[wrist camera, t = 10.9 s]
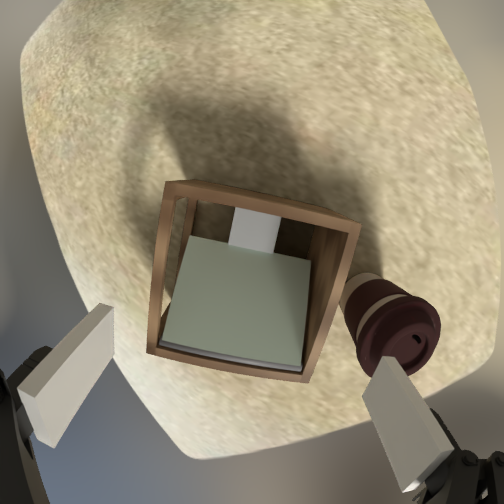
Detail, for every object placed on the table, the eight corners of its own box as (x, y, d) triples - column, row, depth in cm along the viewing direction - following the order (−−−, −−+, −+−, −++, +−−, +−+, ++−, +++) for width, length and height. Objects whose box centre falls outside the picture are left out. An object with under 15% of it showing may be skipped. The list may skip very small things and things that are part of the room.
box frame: (193, 179, 35) (165, 181, 23) (327, 208, 36) (362, 224, 24) (174, 303, 40) (146, 353, 28) (293, 327, 41) (308, 383, 28)
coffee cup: (335, 335, 41) (367, 402, 26) (323, 273, 39) (360, 328, 24) (395, 314, 40) (445, 369, 26) (389, 253, 38) (450, 293, 23)
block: (231, 236, 37) (239, 196, 36) (269, 244, 37) (278, 205, 36) (227, 244, 32) (237, 199, 31) (272, 253, 33) (283, 209, 31)
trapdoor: (188, 239, 34) (187, 234, 33) (310, 264, 34) (312, 261, 34) (160, 345, 28) (158, 344, 27) (298, 371, 29) (301, 371, 28)
